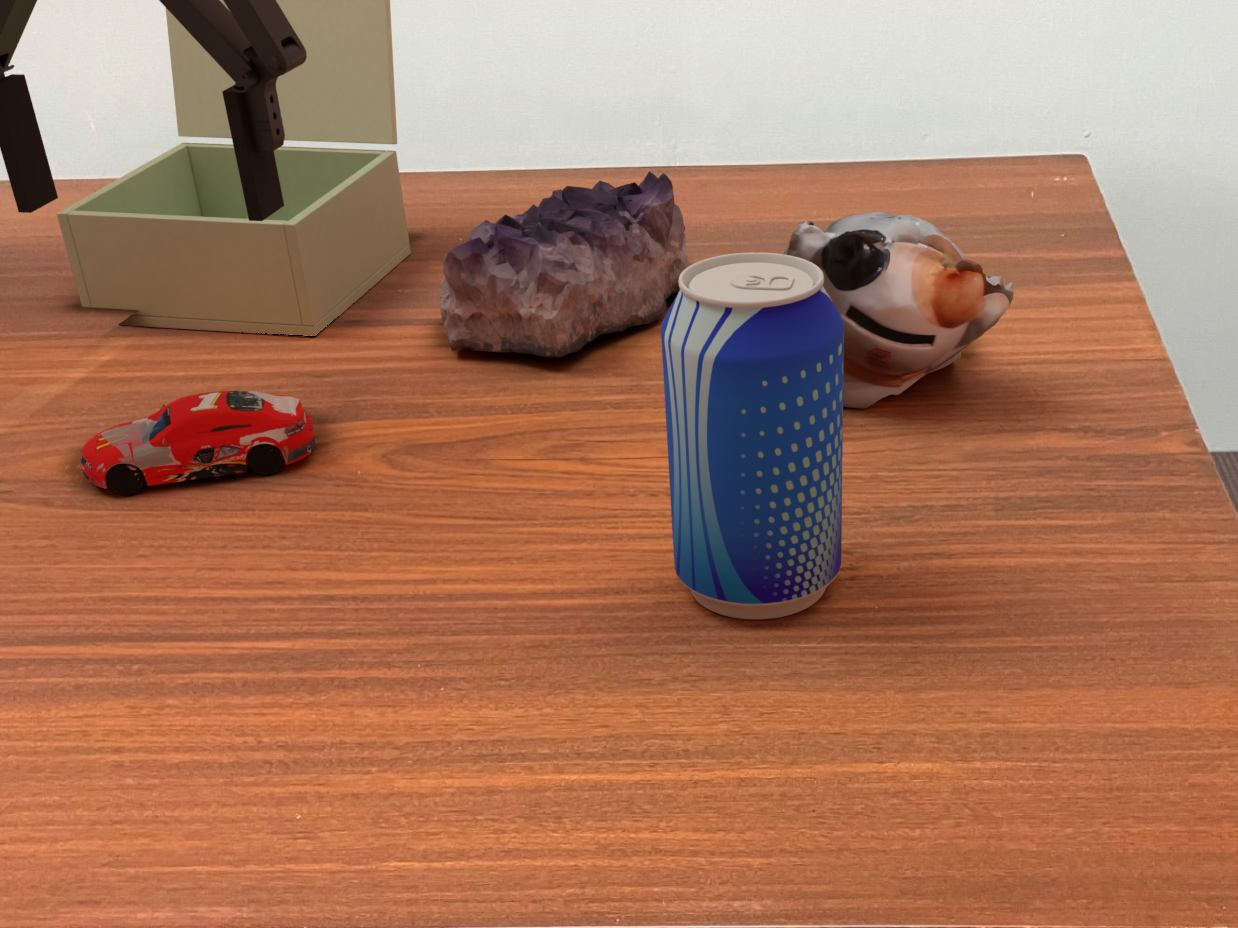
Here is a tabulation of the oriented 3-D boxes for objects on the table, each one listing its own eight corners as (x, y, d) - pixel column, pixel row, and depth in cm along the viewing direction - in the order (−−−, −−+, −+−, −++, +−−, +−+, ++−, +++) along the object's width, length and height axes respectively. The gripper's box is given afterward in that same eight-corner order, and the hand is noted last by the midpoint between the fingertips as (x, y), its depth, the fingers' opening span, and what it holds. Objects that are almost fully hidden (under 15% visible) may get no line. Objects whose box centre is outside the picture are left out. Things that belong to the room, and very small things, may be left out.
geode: (601, 264, 122) (609, 130, 116) (723, 313, 117) (738, 176, 111) (407, 339, 108) (404, 191, 102) (536, 398, 104) (541, 247, 98)
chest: (315, 337, 111) (294, 224, 107) (85, 323, 114) (56, 213, 110) (411, 253, 125) (396, 150, 121) (204, 243, 128) (182, 142, 124)
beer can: (750, 647, 77) (742, 324, 68) (642, 583, 82) (620, 276, 73) (875, 586, 81) (883, 275, 72) (764, 529, 87) (758, 233, 77)
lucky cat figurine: (968, 334, 108) (1045, 176, 96) (947, 471, 102) (1026, 319, 90) (754, 270, 107) (805, 101, 95) (720, 405, 101) (770, 242, 89)
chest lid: (378, -136, 113) (383, -134, 114) (150, -136, 116) (156, -135, 117) (393, 144, 120) (397, 144, 121) (178, 136, 123) (183, 136, 124)
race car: (83, 504, 91) (64, 439, 89) (88, 465, 95) (70, 401, 93) (320, 471, 94) (307, 407, 92) (315, 433, 98) (302, 371, 96)
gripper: (322, -262, 76) (392, 195, 88) (-143, -251, 80) (-14, 182, 93) (250, -250, 70) (337, 239, 82) (-248, -239, 74) (-95, 222, 87)
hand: (151, 210), depth 87 cm, fingers open, 13 cm apart
